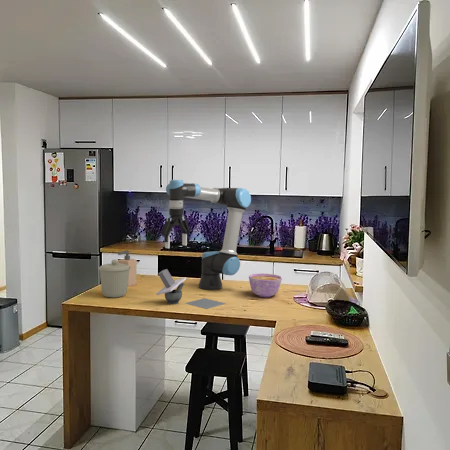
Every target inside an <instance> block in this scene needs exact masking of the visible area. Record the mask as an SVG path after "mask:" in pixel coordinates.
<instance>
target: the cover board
mask: <svg viewBox="0 0 450 450" xmlns="http://www.w3.org/2000/svg"><path fill="white" fill-rule="evenodd" d="M158 277H159V278H160V280H161V281H162V283H163V286H164V287H162V288H161V289H160V290H159V291H157V292H156V293H155V295H156V296H159V295H162V294H163V295H165V293H167V292H171V291H172V290H176V289H177V287H178V286H179V285H180V284H181V283H182V282H183V283H184V282H185V280H187V277H182V278H178V279H175V280H174V277H173V276H172V275H171V273H170V272H169V270H168V268H166V269H162V270H161V271H160V272H158Z"/></svg>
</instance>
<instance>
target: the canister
mask: <svg viewBox="0 0 450 450" xmlns="http://www.w3.org/2000/svg"><path fill="white" fill-rule="evenodd" d="M130 268H131V267H130V266H128V265H126V264H120V263H118V259H112V260H111V262H110V263H105V264H102V265H100V266H98V268H97V269H98V270H99V276H100V279H99V280H100V286H101V287H100V288H101V293H102V295H103V296H104V297H106V298H114V299H115V298H122V297H124V296H125V295H126V293H127V290H128V287H127V286H128V278H129V269H130Z"/></svg>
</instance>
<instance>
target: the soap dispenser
mask: <svg viewBox="0 0 450 450" xmlns="http://www.w3.org/2000/svg"><path fill="white" fill-rule="evenodd" d="M117 255H119V256H121V255H124V258H121V259H117V261H118V263H120V264H126V265H128V266H130V267H131V268H130V269H129V278H128V286H127V288H128V287H132V286H135V285H137V263H138V262H137V260H138V259H136V258H131V255H129V250H124V251H118V252H117Z"/></svg>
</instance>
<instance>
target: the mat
mask: <svg viewBox="0 0 450 450" xmlns="http://www.w3.org/2000/svg"><path fill="white" fill-rule="evenodd" d="M226 304H227V303H226V302H221V301H218V300H213V299H209V298H205V297H204V298H199V299H196V300H191V301H189V302H185V305H190V306H193V307H197V308H201V309H205V310H208V309H212V308H215V307H218V306H222V305H226Z"/></svg>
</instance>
